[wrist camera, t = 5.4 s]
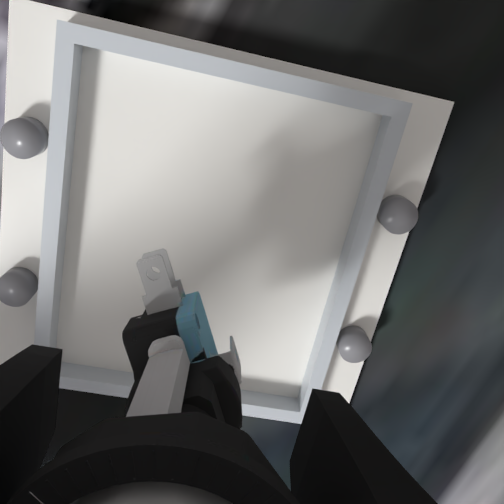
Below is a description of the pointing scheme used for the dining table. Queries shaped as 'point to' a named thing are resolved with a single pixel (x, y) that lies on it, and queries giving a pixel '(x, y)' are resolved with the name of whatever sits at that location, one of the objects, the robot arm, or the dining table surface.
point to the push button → (166, 419)
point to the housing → (201, 201)
